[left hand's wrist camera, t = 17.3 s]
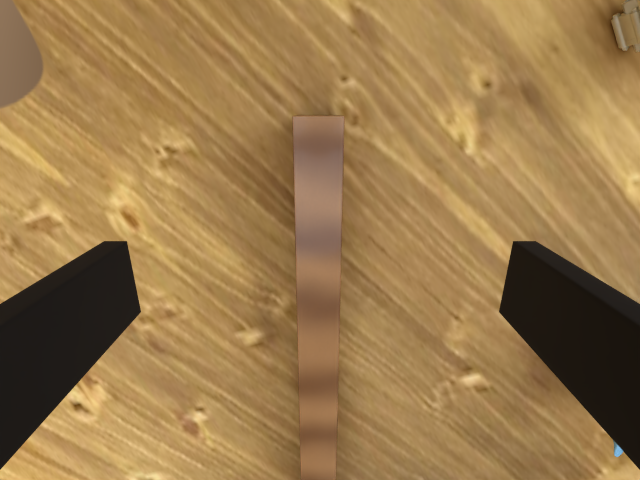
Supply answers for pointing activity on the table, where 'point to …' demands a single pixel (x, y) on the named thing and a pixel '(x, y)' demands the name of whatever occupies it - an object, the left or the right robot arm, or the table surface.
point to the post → (318, 285)
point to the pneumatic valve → (628, 25)
